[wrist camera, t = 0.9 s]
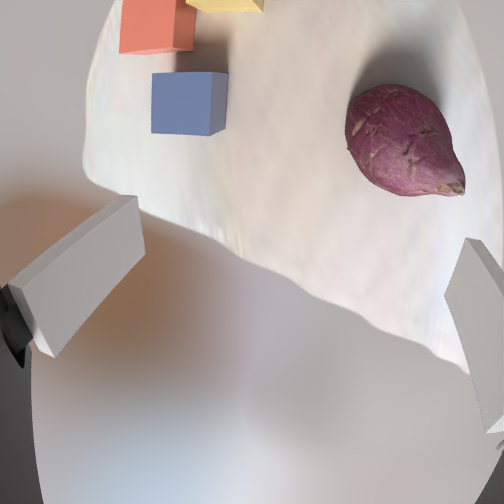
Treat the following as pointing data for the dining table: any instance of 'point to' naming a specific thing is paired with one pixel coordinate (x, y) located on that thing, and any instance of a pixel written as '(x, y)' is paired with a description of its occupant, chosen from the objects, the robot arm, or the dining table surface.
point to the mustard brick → (227, 5)
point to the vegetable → (403, 143)
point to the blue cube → (189, 103)
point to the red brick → (156, 27)
